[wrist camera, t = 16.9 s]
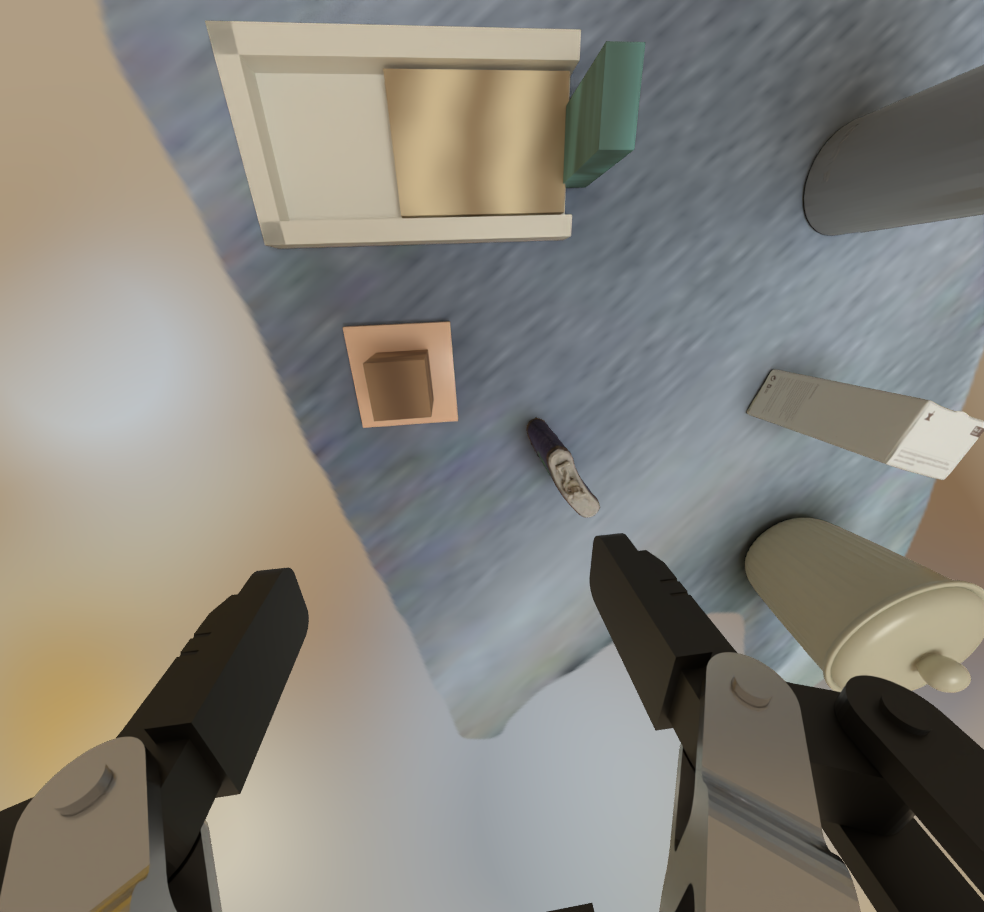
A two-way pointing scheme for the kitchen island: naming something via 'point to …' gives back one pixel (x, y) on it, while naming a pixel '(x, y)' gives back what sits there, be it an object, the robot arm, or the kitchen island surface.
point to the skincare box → (869, 422)
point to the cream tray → (357, 125)
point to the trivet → (405, 338)
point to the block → (399, 385)
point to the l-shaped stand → (509, 134)
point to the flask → (561, 468)
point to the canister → (866, 606)
